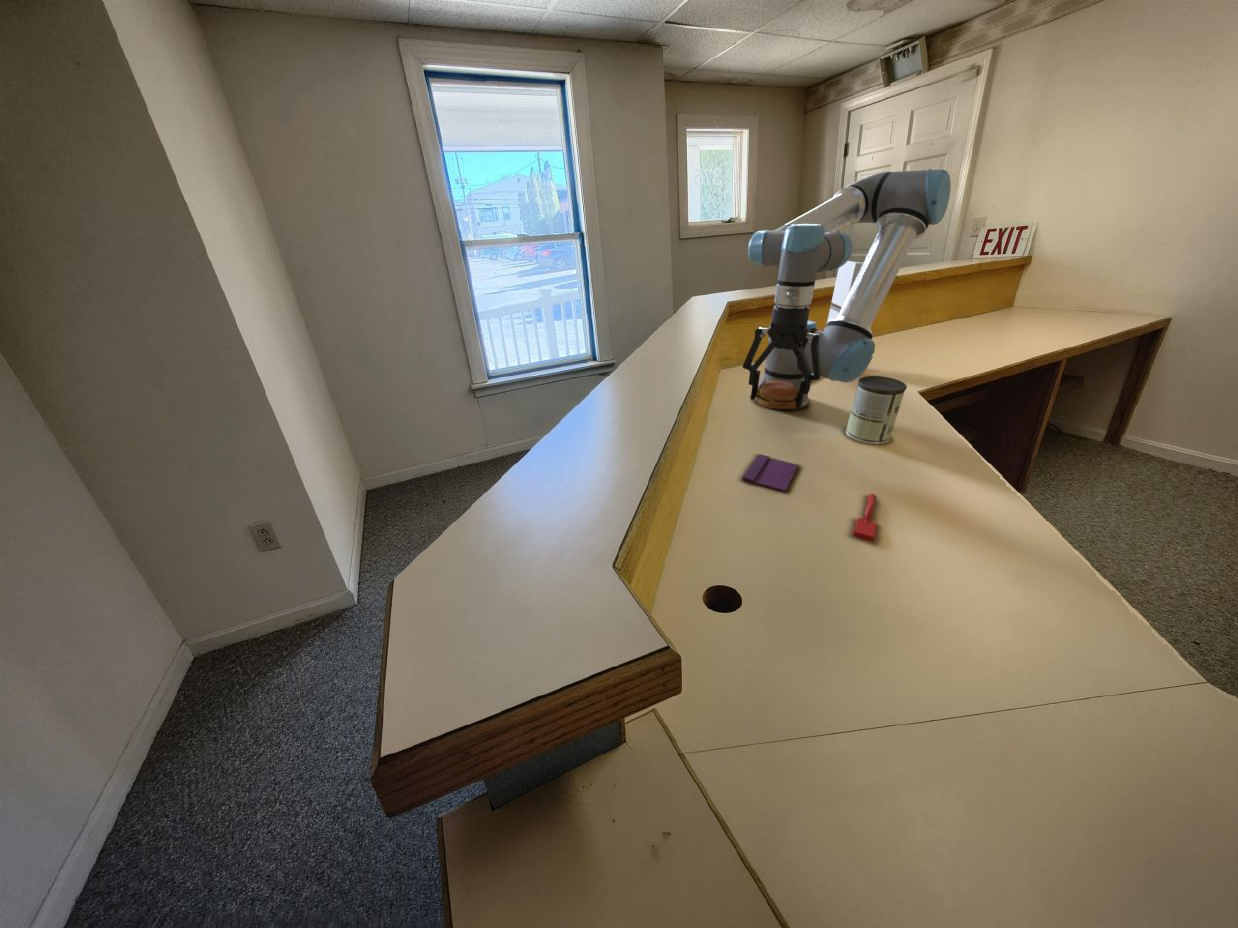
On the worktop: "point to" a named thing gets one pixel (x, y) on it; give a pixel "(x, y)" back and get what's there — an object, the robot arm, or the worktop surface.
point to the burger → (777, 395)
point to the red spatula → (866, 522)
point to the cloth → (770, 473)
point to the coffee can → (875, 409)
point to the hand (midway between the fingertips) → (775, 401)
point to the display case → (843, 286)
